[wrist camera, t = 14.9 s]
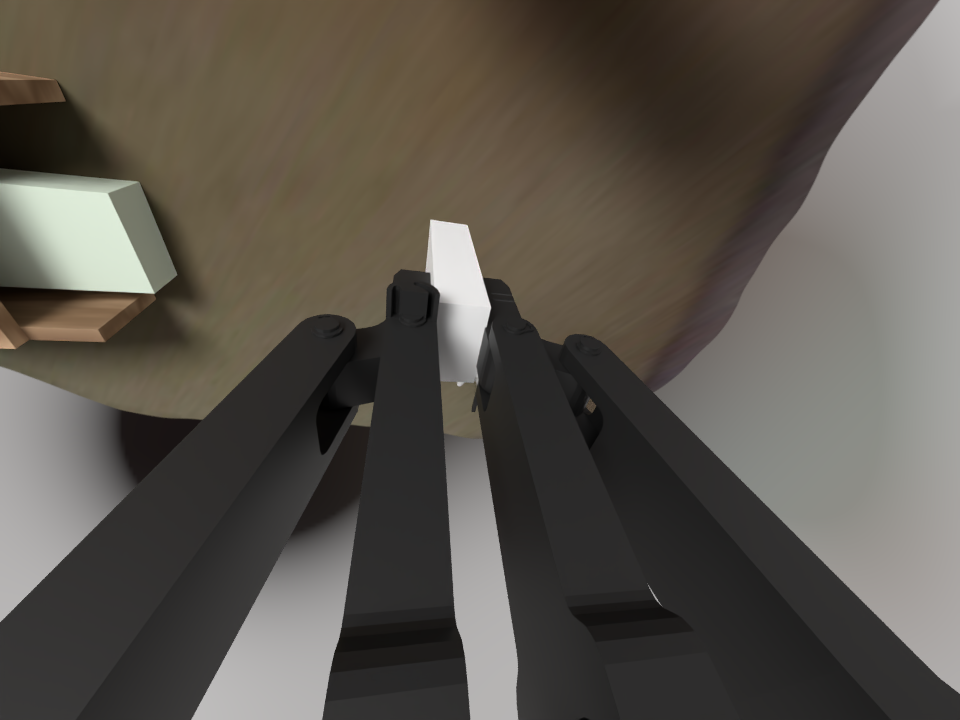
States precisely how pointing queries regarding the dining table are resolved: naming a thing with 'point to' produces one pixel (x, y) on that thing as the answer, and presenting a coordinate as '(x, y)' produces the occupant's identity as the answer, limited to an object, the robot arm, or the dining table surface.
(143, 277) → the pale green block
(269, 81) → the dining table surface
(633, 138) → the dining table surface
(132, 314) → the wooden box
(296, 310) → the dining table surface
